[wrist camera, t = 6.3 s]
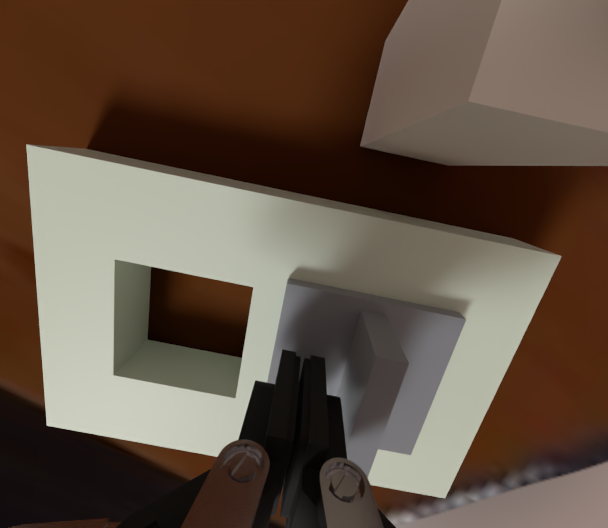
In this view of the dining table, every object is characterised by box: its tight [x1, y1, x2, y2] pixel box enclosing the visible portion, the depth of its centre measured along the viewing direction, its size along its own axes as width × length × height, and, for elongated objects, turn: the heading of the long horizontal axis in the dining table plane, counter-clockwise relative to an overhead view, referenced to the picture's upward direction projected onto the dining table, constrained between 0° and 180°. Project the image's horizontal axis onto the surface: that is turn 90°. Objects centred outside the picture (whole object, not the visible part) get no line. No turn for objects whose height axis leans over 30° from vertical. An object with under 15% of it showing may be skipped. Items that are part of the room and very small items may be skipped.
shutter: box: [267, 278, 466, 478], centre depth 12 cm, size 7×7×4 cm
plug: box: [360, 0, 608, 166], centre depth 7 cm, size 4×4×12 cm
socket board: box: [26, 144, 561, 498], centre depth 15 cm, size 13×20×3 cm, turn 79°
